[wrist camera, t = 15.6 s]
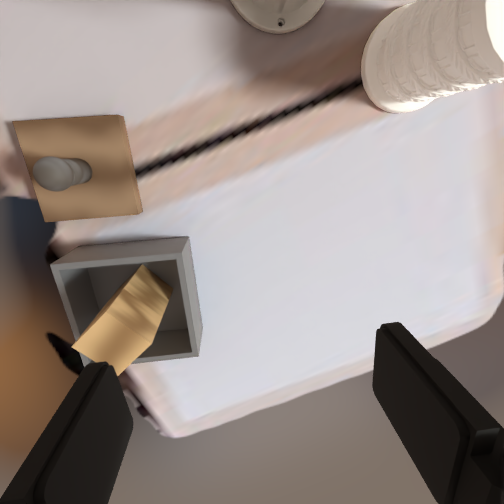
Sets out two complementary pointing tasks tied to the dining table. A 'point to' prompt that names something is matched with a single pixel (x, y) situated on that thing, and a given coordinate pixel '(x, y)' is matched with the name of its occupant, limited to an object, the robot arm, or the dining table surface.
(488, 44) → the decorative container
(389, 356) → the robot arm
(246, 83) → the dining table surface
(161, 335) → the charcoal bin
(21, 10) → the dining table surface
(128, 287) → the oak strut
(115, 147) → the stud block
